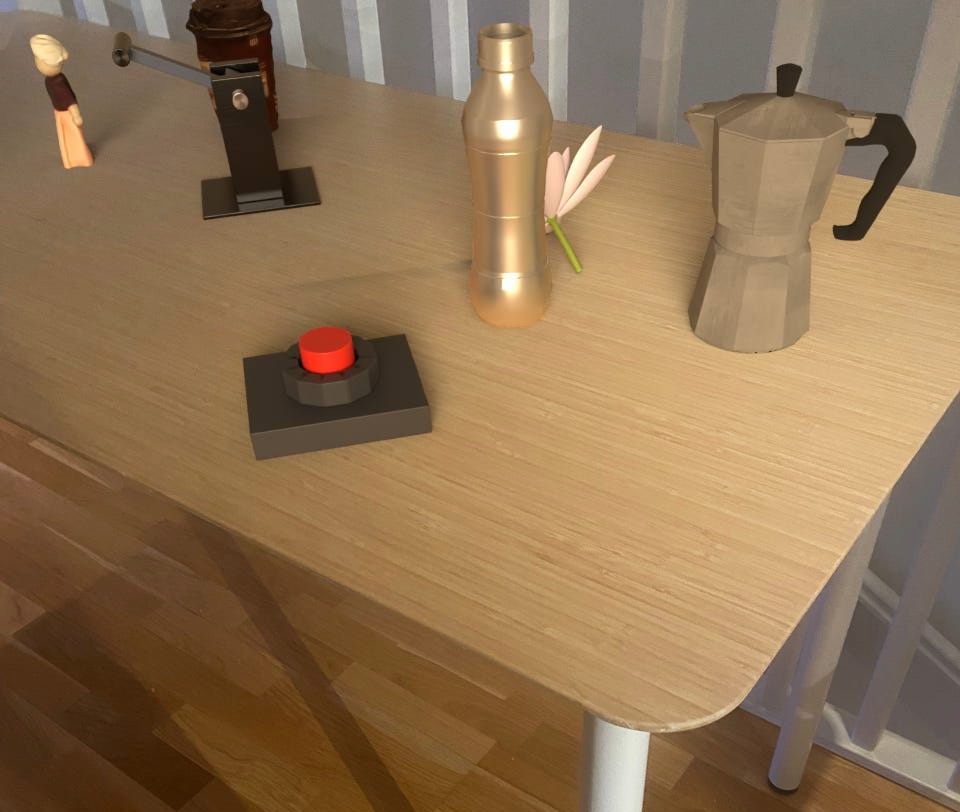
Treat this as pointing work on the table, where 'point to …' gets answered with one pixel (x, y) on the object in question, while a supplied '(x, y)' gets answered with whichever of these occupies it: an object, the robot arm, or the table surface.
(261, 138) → the lever bracket
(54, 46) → the grandmother figurine
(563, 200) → the water lily
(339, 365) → the button
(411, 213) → the table surface
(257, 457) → the switch base
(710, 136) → the coffeepot
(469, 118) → the gold metal bottle
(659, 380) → the table surface
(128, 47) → the switch lever
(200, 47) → the coffee cup
